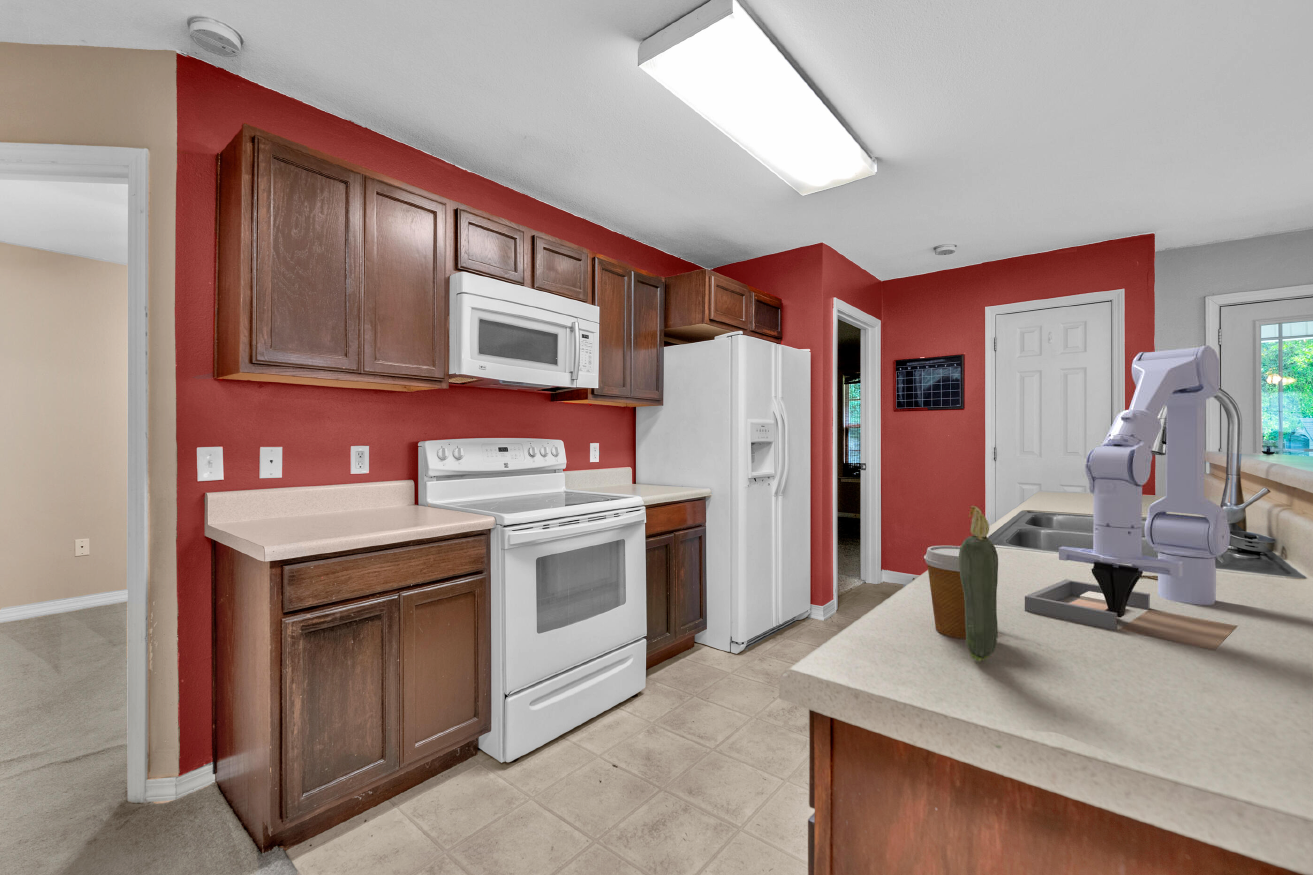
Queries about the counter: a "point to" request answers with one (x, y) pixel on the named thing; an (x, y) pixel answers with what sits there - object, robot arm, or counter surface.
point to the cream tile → (1093, 597)
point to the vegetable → (979, 587)
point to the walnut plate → (1180, 629)
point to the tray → (1050, 606)
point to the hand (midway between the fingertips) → (1116, 615)
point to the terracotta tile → (1090, 604)
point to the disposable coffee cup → (946, 590)
